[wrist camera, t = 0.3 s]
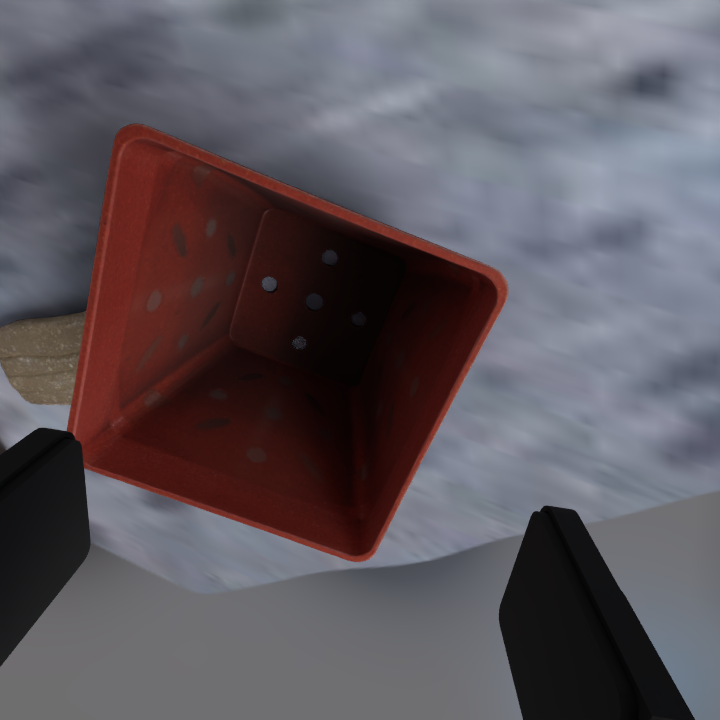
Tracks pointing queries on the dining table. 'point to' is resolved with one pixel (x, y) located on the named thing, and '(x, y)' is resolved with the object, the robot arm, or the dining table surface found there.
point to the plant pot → (267, 347)
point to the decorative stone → (42, 357)
